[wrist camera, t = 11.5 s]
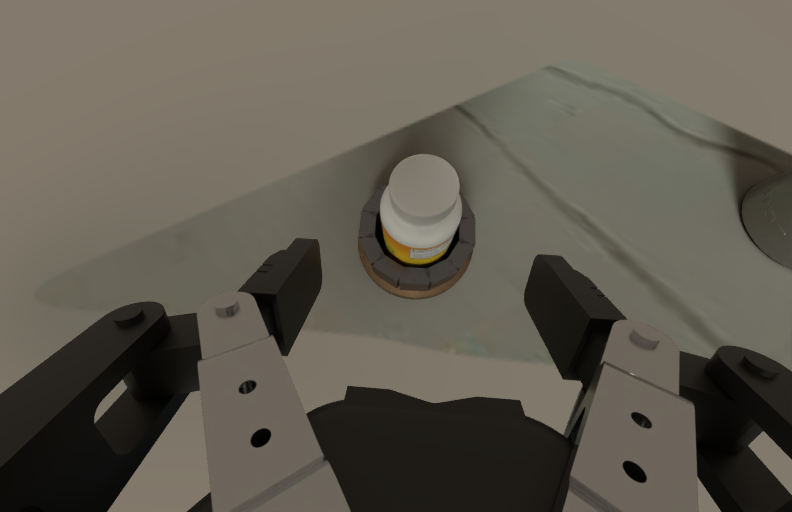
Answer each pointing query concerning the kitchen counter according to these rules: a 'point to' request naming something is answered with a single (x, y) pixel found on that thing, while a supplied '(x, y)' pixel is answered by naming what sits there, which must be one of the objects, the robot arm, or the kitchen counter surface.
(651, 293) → the kitchen counter surface
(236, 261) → the kitchen counter surface
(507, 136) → the kitchen counter surface
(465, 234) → the collar mount
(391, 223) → the supplement bottle
